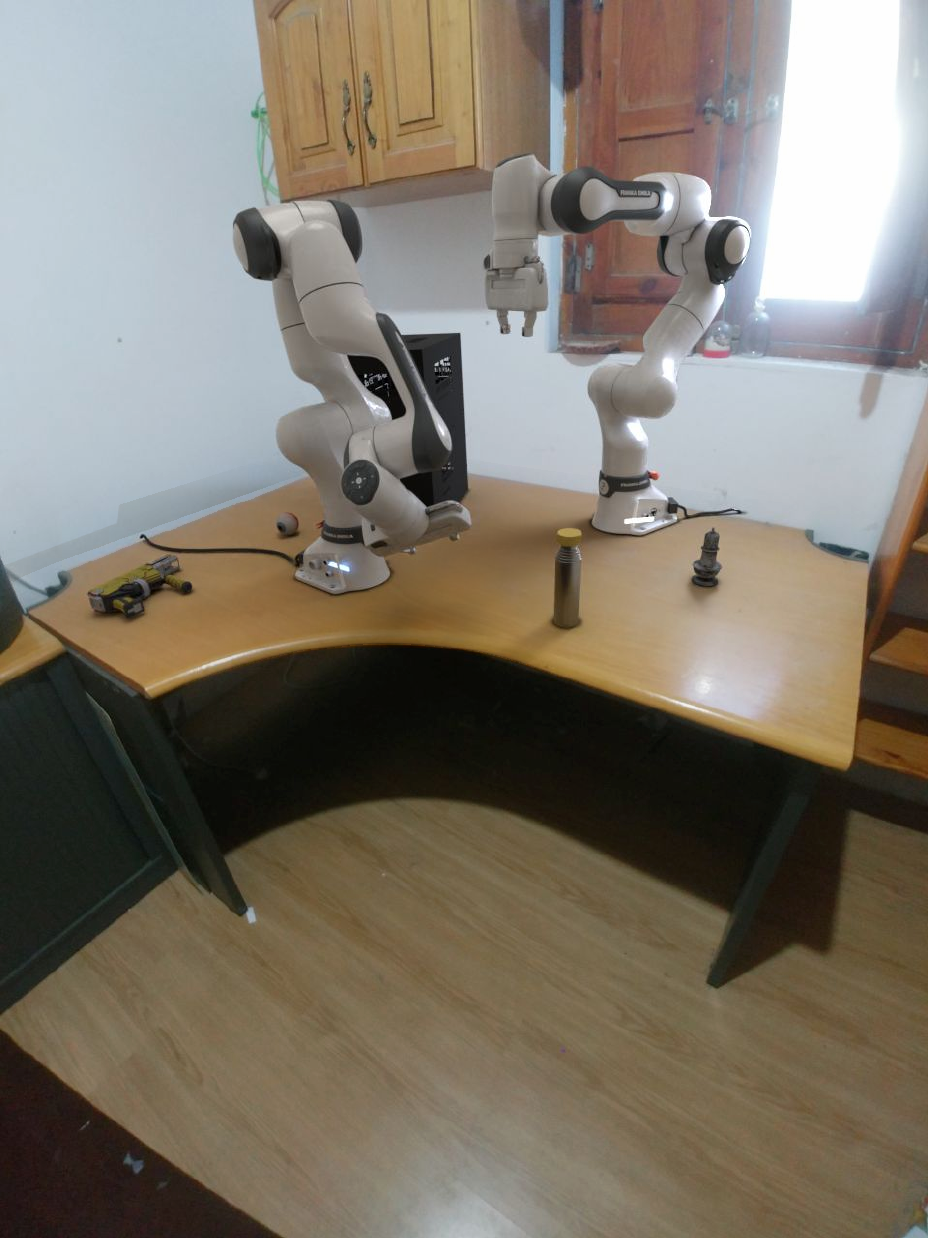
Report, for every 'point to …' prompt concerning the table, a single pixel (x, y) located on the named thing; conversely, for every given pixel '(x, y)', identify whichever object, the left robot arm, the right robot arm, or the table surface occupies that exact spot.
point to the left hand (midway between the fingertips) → (434, 544)
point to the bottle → (567, 586)
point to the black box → (445, 398)
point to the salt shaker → (708, 561)
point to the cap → (569, 537)
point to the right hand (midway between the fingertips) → (516, 335)
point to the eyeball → (287, 523)
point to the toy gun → (136, 587)
